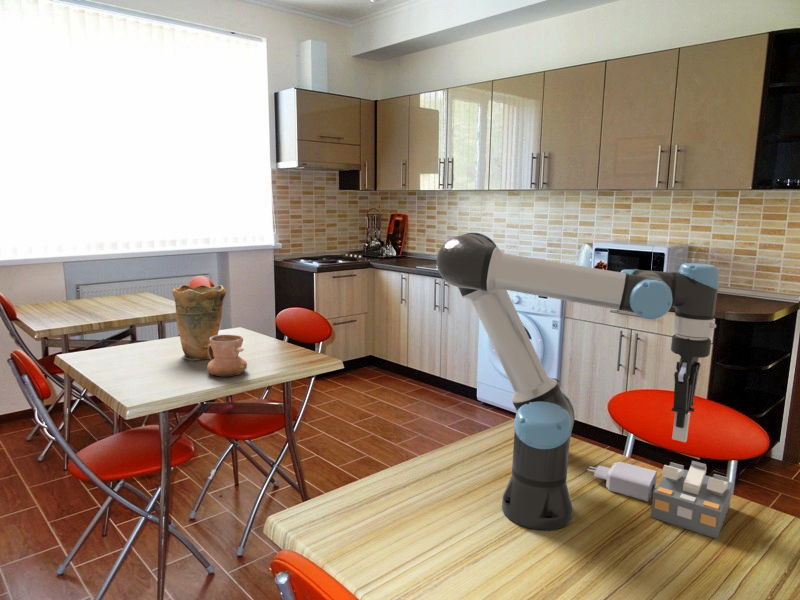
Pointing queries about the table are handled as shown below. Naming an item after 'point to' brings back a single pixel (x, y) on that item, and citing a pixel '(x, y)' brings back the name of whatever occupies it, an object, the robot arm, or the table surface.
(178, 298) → the vase
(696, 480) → the rocker
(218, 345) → the ceramic jug
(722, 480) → the rocker
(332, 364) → the table surface
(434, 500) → the table surface
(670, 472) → the rocker
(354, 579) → the table surface
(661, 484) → the switch unit
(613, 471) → the charger
